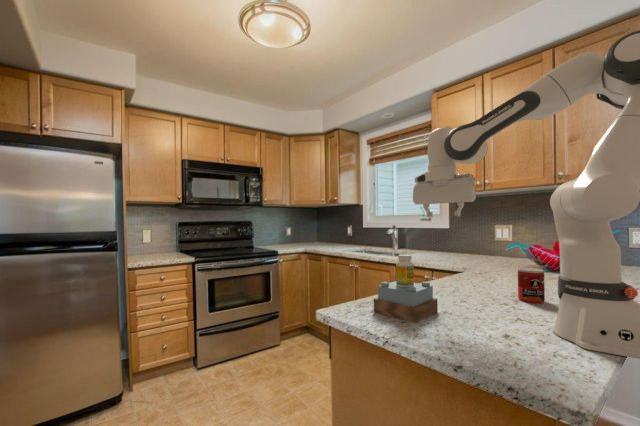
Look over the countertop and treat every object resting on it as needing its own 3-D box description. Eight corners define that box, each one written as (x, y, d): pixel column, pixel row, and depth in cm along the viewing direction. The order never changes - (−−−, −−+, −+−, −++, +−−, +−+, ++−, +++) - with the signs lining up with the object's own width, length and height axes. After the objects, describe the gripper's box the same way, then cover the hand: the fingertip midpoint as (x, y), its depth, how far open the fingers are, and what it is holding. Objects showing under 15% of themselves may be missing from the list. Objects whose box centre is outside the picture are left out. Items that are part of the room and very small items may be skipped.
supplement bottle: (402, 283, 97) (401, 253, 97) (417, 285, 93) (417, 254, 93) (392, 285, 93) (392, 255, 93) (408, 288, 89) (408, 256, 90)
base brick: (437, 311, 93) (437, 298, 93) (415, 322, 83) (415, 308, 83) (397, 302, 103) (397, 291, 103) (373, 311, 93) (373, 298, 93)
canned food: (522, 302, 102) (522, 270, 102) (514, 296, 110) (514, 266, 110) (549, 304, 100) (548, 271, 100) (539, 298, 108) (538, 267, 108)
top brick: (432, 298, 93) (432, 282, 93) (413, 306, 85) (413, 289, 85) (398, 292, 102) (398, 277, 102) (378, 298, 93) (378, 282, 93)
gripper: (477, 173, 97) (479, 215, 97) (418, 180, 111) (419, 217, 111) (471, 171, 93) (472, 216, 92) (410, 178, 107) (411, 217, 107)
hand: (443, 216), depth 102 cm, fingers open, 8 cm apart
